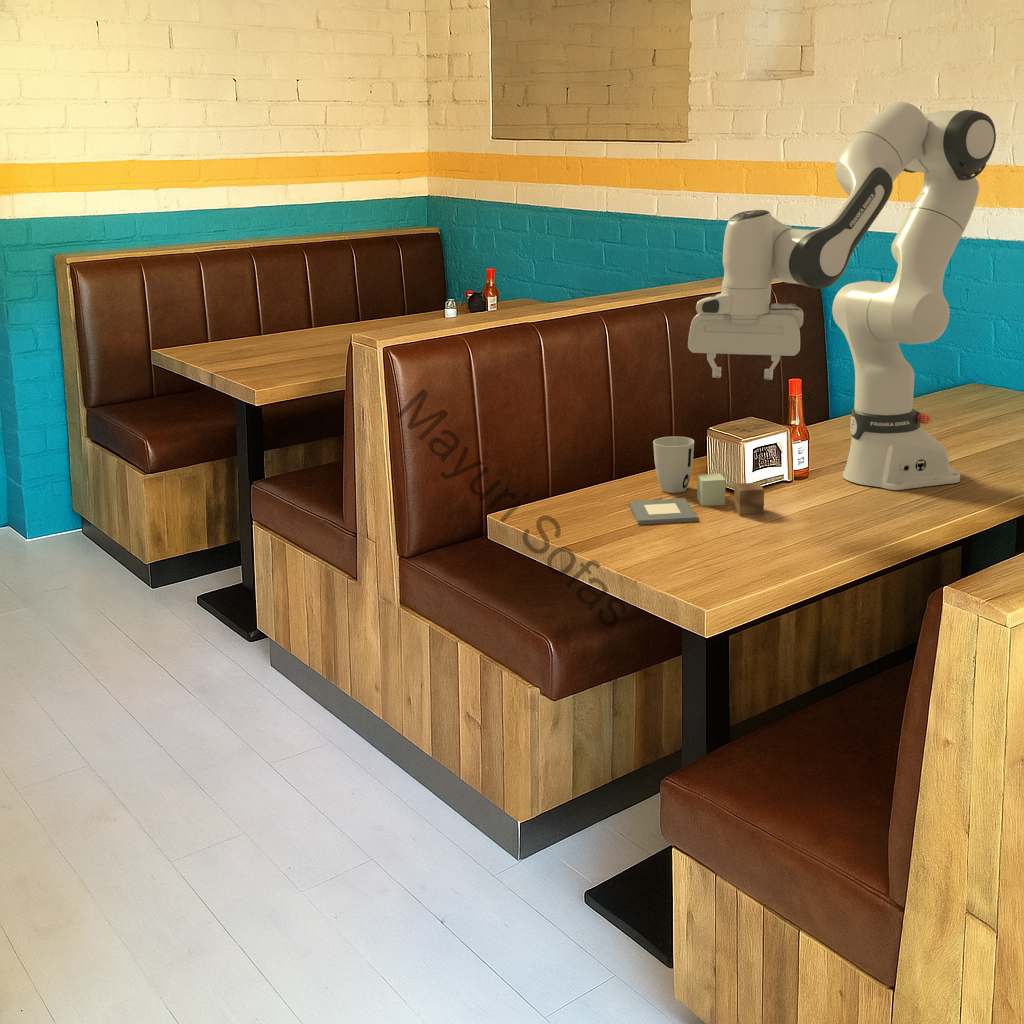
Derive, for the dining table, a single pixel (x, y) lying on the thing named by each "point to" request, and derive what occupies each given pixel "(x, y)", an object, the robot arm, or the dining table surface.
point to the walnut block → (749, 499)
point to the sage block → (711, 489)
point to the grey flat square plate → (662, 511)
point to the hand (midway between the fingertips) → (742, 378)
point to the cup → (673, 462)
